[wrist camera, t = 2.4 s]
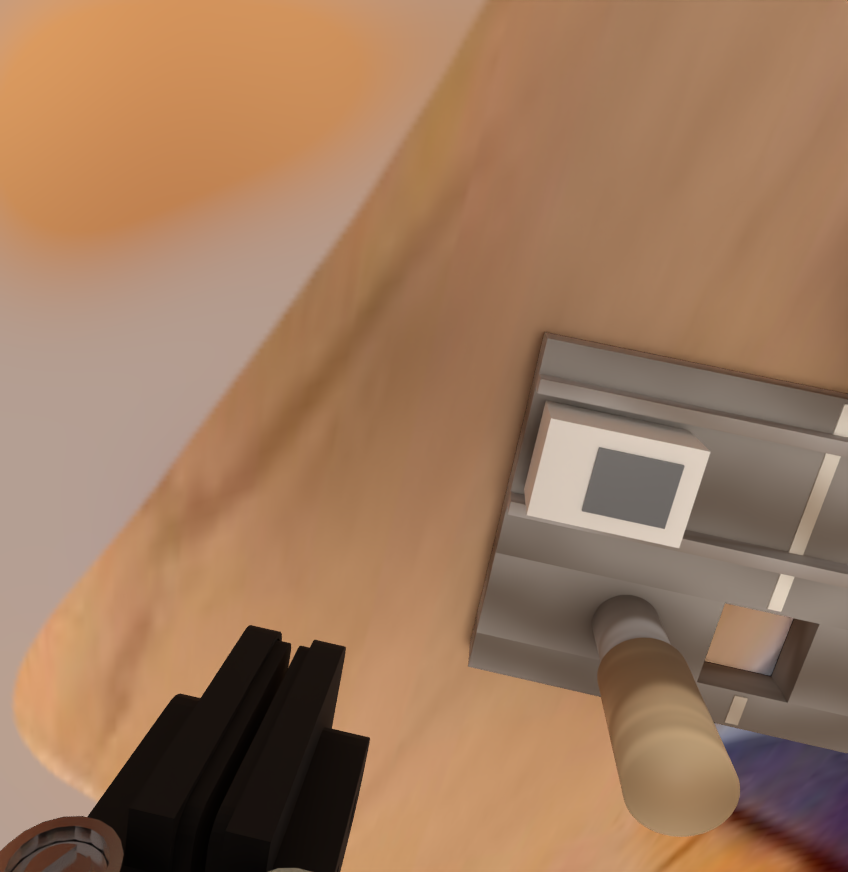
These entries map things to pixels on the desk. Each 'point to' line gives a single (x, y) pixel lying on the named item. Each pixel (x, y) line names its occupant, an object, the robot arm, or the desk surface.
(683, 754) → the tan cylinder
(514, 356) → the desk surface
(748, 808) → the desk surface
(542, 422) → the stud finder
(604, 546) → the grey ridged panel
